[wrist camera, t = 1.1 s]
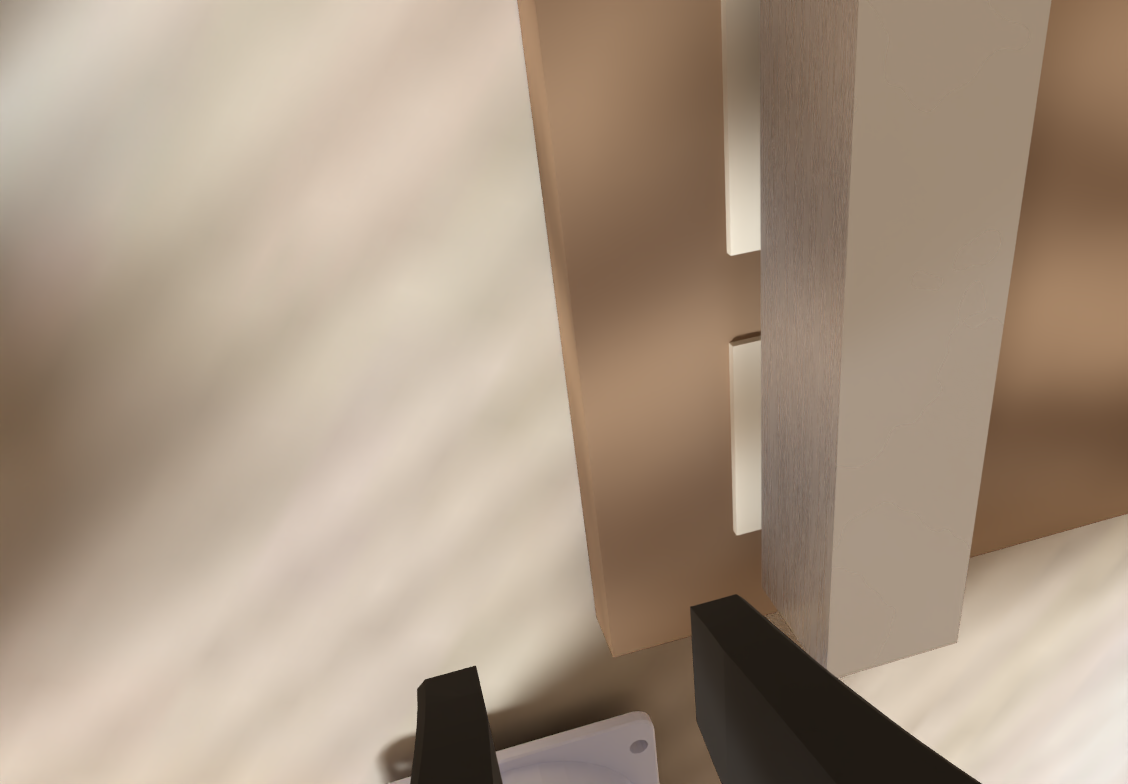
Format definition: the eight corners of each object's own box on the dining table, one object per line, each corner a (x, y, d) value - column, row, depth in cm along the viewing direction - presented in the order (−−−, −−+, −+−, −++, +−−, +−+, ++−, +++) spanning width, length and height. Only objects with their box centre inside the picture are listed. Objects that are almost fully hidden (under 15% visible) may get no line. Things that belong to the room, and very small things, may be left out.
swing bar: (734, -413, 12) (862, -513, 9) (972, -430, 12) (1159, -531, 10) (748, 587, 21) (815, 688, 18) (887, 549, 21) (972, 642, 18)
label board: (1120, 474, 26) (1177, 513, 24) (596, 616, 23) (619, 672, 21) (1339, -432, 16) (1464, -476, 14) (471, -363, 13) (494, -405, 12)
